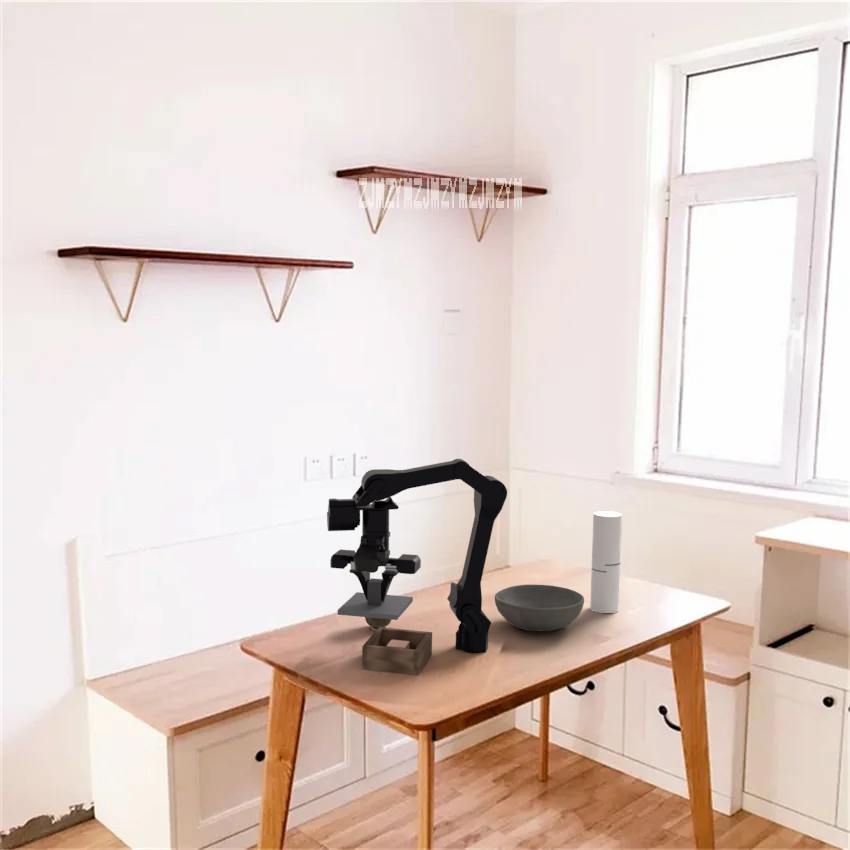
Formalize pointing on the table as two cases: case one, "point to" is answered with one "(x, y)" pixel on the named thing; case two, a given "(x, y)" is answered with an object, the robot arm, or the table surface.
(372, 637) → the walnut box
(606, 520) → the cylindrical container
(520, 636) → the table surface
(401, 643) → the terracotta cube
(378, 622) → the cup
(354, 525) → the robot arm
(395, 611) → the lid
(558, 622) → the bowl
